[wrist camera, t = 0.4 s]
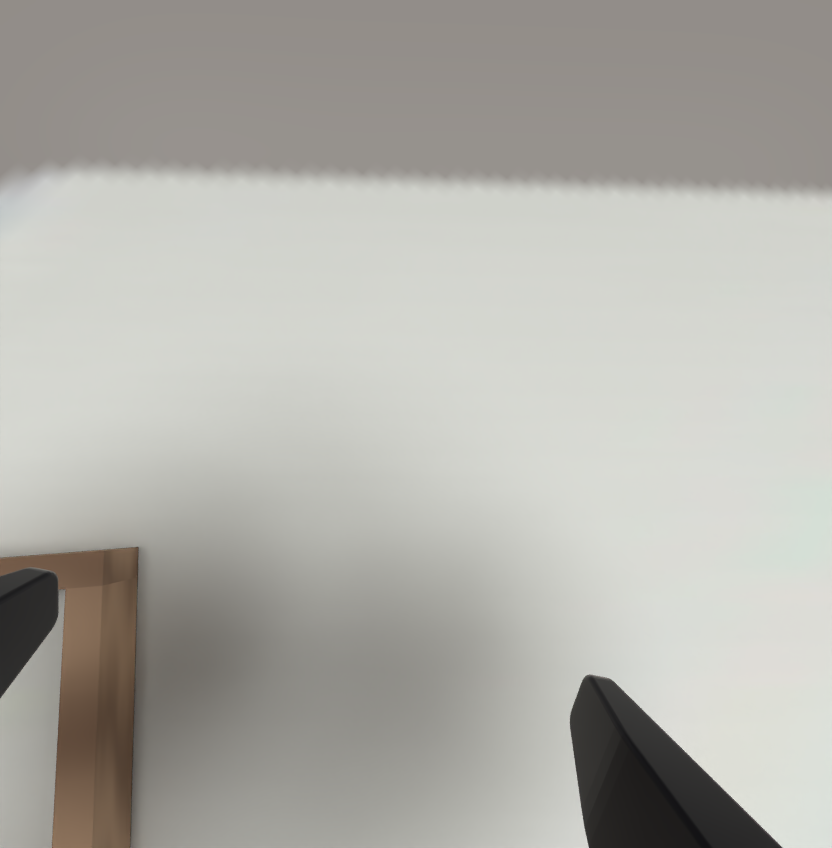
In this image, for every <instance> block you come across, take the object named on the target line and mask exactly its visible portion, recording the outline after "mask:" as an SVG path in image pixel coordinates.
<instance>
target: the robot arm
mask: <svg viewBox="0 0 832 848" xmlns="http://www.w3.org/2000/svg"><path fill="white" fill-rule="evenodd" d="M57 617H58V576H57V574H56V573H55V572H53V571H49V570H44V569H39V568H33V567H29V568H24V569H21V570H18V571H15V572H12V573H9V574H5V575H2V576H0V698H1V697H2V695H3V694H4V693H5V691H6V690H7V689H8V687H9V686H10V685H11V683H12V682H13V681H14V679H15V678H16V677H17V675H18V674H19V673H20V671H21V670H22V669H23V667H24V666H25V665H26V663H27V662H28V661H29V659H30V658H31V657H32V655H33V654H34V653H35V651H36V650H37V649H38V647H39V646H40V645H41V643H42V642H43V640H44V639H45V638H46V636H47V635H48V634H49V632H50V631H51V630H52V628H53V627H54V625H55V623H56V620H57ZM570 729H571V737H572V744H573V751H574V758H575V765H576V772H577V780H578V787H579V794H580V801H581V808H582V815H583V821H584V827H585V832H586V836H587V841H588V846H589V848H782V847H781V846H780V845H779V844H778V843H777V842H776V841H775V840H774V839H773V838H772V837H771V836H770V835H769V834H768V833H767V832H766V831H765V830H764V829H763V828H762V827H761V826H760V825H759V824H758V823H757V822H756V821H755V820H754V819H753V818H752V817H751V816H750V815H749V814H748V813H747V812H746V811H745V810H744V809H743V808H742V807H741V806H740V805H739V804H738V803H737V802H736V801H735V800H734V799H733V798H732V797H731V796H730V795H729V794H728V793H727V792H725V791H724V790H723V789H722V788H721V787H720V786H719V785H718V784H717V783H716V782H715V781H714V780H713V779H712V778H711V777H710V776H709V775H708V774H707V773H706V772H705V771H704V770H703V769H702V768H701V767H700V766H699V765H698V764H697V763H696V762H695V761H694V760H693V759H692V758H691V757H690V756H689V755H688V754H687V753H686V752H685V751H684V750H683V749H682V748H681V747H680V746H679V745H678V744H677V743H676V742H675V741H674V740H673V739H672V738H671V737H670V736H669V735H668V734H667V733H666V732H665V731H663V730H662V729H661V728H660V727H659V726H658V725H657V724H656V723H655V722H654V721H653V720H652V719H651V718H650V717H649V716H648V715H647V714H646V713H645V712H644V711H643V710H642V709H641V708H640V707H639V706H638V705H637V704H636V703H635V702H634V701H633V700H632V699H631V698H630V697H629V696H628V695H627V694H626V693H625V692H624V691H623V690H622V689H621V688H620V687H619V686H618V685H617V684H616V683H615V682H614V681H612V680H611V679H609V678H605V677H600V676H595V675H587V676H585V677H584V679H583V681H582V683H581V686H580V688H579V691H578V694H577V697H576V699H575V702H574V705H573V708H572V711H571V715H570Z"/></svg>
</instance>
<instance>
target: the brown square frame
mask: <svg viewBox="0 0 832 848" xmlns="http://www.w3.org/2000/svg"><path fill="white" fill-rule="evenodd" d="M29 567H33V568H39V569H44V570H49V571H53V572H55V573H56V574H57V576H58V589H66V591H65V610H64V629H63V648H62V667H61V686H60V705H59V724H58V742H57V761H56V780H55V799H54V818H53V837H52V848H130V830H131V794H132V757H133V721H134V684H135V648H136V611H137V575H138V547H133V548H120V549H107V550H95V551H82V552H69V553H56V554H43V555H30V556H17V557H4V558H0V576H2V575H5V574H9V573H12V572H15V571H18V570H21V569H24V568H29Z"/></svg>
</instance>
